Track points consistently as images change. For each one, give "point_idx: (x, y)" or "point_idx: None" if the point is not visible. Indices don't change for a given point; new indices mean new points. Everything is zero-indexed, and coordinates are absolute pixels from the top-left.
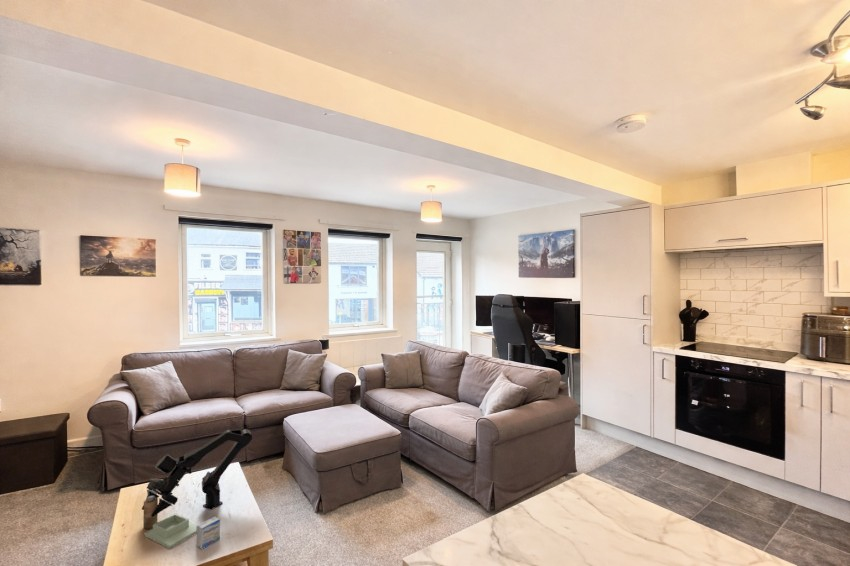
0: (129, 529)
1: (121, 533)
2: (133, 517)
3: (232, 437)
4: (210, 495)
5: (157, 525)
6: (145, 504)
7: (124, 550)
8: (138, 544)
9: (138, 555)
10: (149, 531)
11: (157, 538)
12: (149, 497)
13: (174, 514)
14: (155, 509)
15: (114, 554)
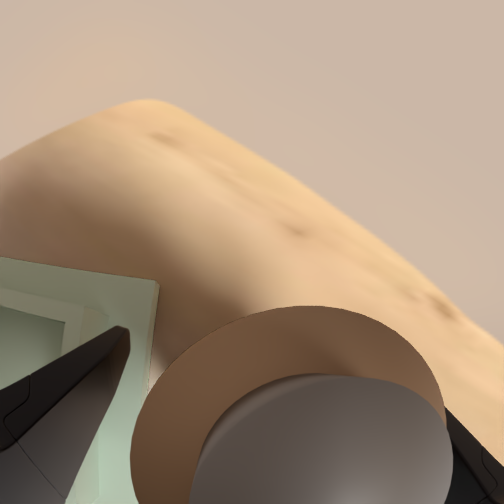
0: (359, 294)
1: (357, 241)
2: (464, 387)
3: None
4: None
5: (41, 314)
6: (275, 310)
7: (148, 142)
8: (114, 205)
9: (42, 153)
10: (139, 310)
11: (18, 267)
12: (387, 486)
13: (68, 502)
14: (60, 371)
15: (172, 108)
